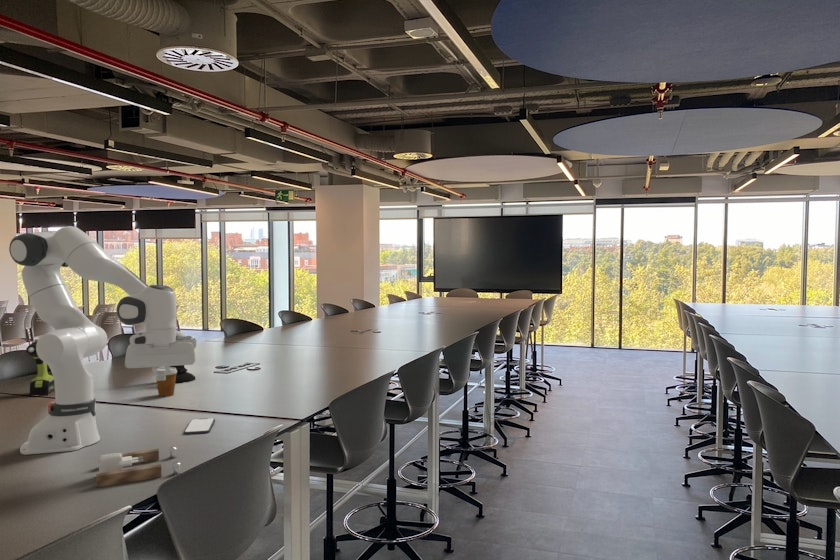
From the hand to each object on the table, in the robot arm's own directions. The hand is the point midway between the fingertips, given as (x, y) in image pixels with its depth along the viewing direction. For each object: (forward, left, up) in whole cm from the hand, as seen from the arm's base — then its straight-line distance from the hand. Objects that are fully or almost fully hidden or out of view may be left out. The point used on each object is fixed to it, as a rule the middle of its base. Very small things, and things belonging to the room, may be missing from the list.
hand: (160, 380), depth 179 cm
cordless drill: (-46, +111, -24) cm, 122 cm away
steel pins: (+3, -13, -23) cm, 27 cm away
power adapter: (-11, -13, -24) cm, 29 cm away
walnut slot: (-9, -13, -23) cm, 28 cm away
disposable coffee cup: (+6, +85, -24) cm, 88 cm away
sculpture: (+13, +113, -24) cm, 116 cm away
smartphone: (+14, +24, -24) cm, 37 cm away
